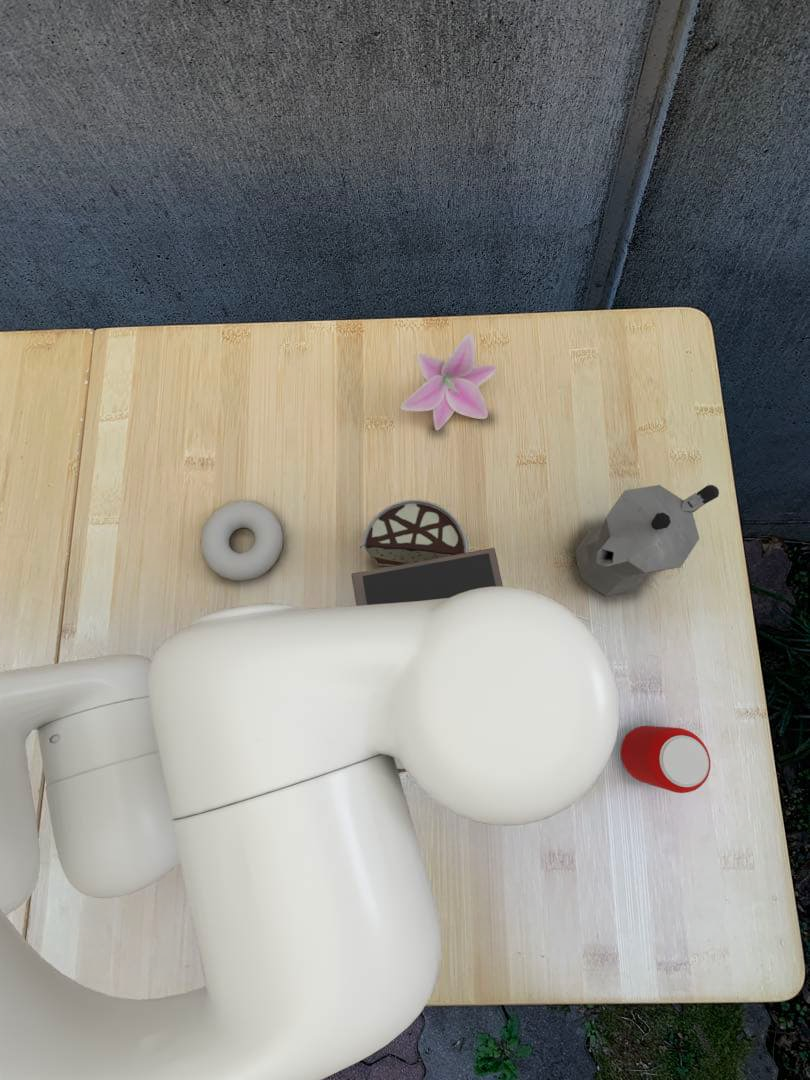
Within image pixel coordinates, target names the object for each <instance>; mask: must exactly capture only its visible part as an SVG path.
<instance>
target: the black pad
mask: <svg viewBox="0 0 810 1080" xmlns="http://www.w3.org/2000/svg"><path fill="white" fill-rule="evenodd" d="M363 583H364V589H365V595H366V600H367V605H374V604H388V603H401V602H415V601H425V600H434V599H443V598H450V597H452V596H455V595H457V594H460V593H463V592H466V591H469V590H473V589H478V588H484V587H496V584H495V579H494V575H493V570H492V566H491V561H490V556H489V553H486V554H480V555H475V556H469V557H464V558H459V559H453V560H448V561H442V562H437V563H431V564H426V565H420V566H415V567H409V568H404V569H398V570H393V571H387V572H382V573H376V574H371V575H365V576H363Z"/></svg>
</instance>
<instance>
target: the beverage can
mask: <svg viewBox="0 0 810 1080" xmlns="http://www.w3.org/2000/svg"><path fill="white" fill-rule="evenodd" d="M620 758H621V761H622V764H623V766H624V768H625V770H626V771H627V773H628V774H629V775H630V776H631V777H632V778H634V779H635V780H637V781H639V782H640V783H643V784H646V785H649V786H654V787H657V788H660V789H663V790H666V791H669V792H673V793H676V794H677V793H678V794H686V793H691V792H694V791H696V790H698V789H699V788H700V787H702V786H703V784H705V782H706V781H707V779H708V777H709V775H710V771H711V757H710V754H709V751H708V748H707V746H706V745H705V743H704V742H703V741H702V740H701V738H700V737H699V736H698V735H696V734H695V733H694V732H692V731H690V730H688V729H685V728H682V727H674V726H673V727H670V726H656V725H642V726H638V727H635V728H633V729H631V730H630V731H629V732H628V733H627V734H626V735H625V737H624V738H623V740H622V744H621V747H620Z"/></svg>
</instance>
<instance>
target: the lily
mask: <svg viewBox="0 0 810 1080" xmlns="http://www.w3.org/2000/svg"><path fill="white" fill-rule="evenodd" d="M476 354H477V353H476V343H475V338H474V335H473V334H472V332H469V333H467V334H466V335H465V336H464V337H463V338H462V340H461V341H460V342H459V344H458V345H457V346H456V347H455V348H454V350H452V352H451V354H450V355H449V356H448V358H447V359H446V360H445V361H444V360H443V359H439V358H437V357H433V356H431V355H426V354H421V353H419V354H417V355H416V359H417V363H418V366H419V369H420V371H421V373H422V375H423V377H424V379H425V382H424V383H423V384H422V385H421V386H420V387H419V388H418V389H416V390H415V391H414V392H413V393H412V394H411V395H410V396H408V397H407V398H406V399H405V400H404V401H403V402H402V403H401V405H400V407H399V409H401V410H403V411H408V412H427V411H432V416H433V418H432V419H433V427H434V429H435V431H439V430H440V429H442V428H443V427H444V426H445V424H446V423H447V422H448V421H449V419H451V417H452V416H453V414H454V412H455V413H457V414H459V415H462V416H465V417H468V418H473V419H478V420H485V419H487V418H488V416H489V414H488V413H489V412H488V407H487V404H486V401H485V398H484V396H483V393H482V391H481V390H480V388H479V387H480V386H482V385H483V384H484V383H485V382H486V381H488V380H489V379H490V378H491V377H492V376H493V375H494V374H495V373H496V372H497V371H498V369H499V366H498V365H493V364H480V365H479V364H476V360H477V359H476V356H477V355H476Z"/></svg>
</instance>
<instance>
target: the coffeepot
mask: <svg viewBox="0 0 810 1080" xmlns="http://www.w3.org/2000/svg"><path fill="white" fill-rule="evenodd" d="M719 495H720V491H719V489H718V487H717V486H716V485H713V484H708V485H706V486H705V487H703V488H702V489H700V490H699V491H697V492H694V493H693V494H691V495H690V496H688V497H686V498H685V499H682V498H680V497H679V496H678V495H676V494H675V493H673V492H671V491H670V490H668V489H667V488H665V487H664V486H662V485H661V484H657V485H649V486H644V487H638V488H637V487H636V488H632V489H631V488H630V489H624V491H623V492H622V494H621V495H620V496H619V497H618V499H617V501H616V502H615V504H614V505H613V506H612V508H611V510H610V511H609V512H608V514H607V516H606V517H605V519H604V522H603V523H602V524H599V525H595V526H593V527H591V528H589V529H588V531H587V533H585V536H584V537H583V538H582V540H581V541H580V542H579V544H578V545H577V547H576V548H575V550H574V555H575V560H576V566H577V569H578V572H579V573H578V574H579V577H580V580H581V581H583V583H585V584H586V585H588V586H589V587H591V588H592V589H593V590H595V591H597V592H598V593H600V594H601V595H603V596H604V597H605V598H606V597H607V598H608V597H613V596H620V595H625V594H631V593H636V591H638V589H639V587H640V586H641V584H642V582H643V581H644V580H645V579H646V577H647V575H648V574H653V573H657V572H663V571H668V570H674V569H679V568H682V567H683V565H684V563H685V562H686V560H687V558H688V557H689V556H690V554H691V553H692V551H693V549H694V548H695V547H696V545H697V543H698V542H699V540H700V535H699V532H698V529H697V525H696V521H695V516H694V513H695V512H696V511H698V510H699V509H700V508H702V507H703V506H704V505H706V504H708V503H710V502H711V501H713V500H715V499H717V498H718V497H719Z"/></svg>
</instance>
